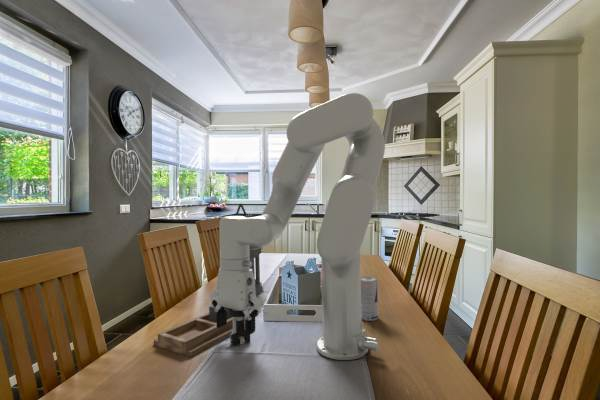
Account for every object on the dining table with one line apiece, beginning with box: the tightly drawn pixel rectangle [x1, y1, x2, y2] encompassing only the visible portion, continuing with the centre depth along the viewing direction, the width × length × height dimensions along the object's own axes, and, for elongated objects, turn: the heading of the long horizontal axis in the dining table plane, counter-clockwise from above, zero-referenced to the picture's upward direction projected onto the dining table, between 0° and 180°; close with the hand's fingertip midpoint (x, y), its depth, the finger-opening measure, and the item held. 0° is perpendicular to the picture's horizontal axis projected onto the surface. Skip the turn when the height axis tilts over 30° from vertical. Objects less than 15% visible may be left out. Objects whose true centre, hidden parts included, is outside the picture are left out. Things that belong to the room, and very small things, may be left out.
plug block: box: [208, 305, 232, 323], centre depth 98 cm, size 4×6×7 cm, turn 149°
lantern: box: [235, 203, 264, 296], centre depth 133 cm, size 17×17×35 cm
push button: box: [224, 309, 251, 347], centre depth 86 cm, size 7×5×10 cm
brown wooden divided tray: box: [153, 311, 247, 358], centre depth 94 cm, size 14×24×3 cm, turn 149°
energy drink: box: [361, 276, 379, 322], centre depth 101 cm, size 5×5×12 cm
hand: (235, 329), depth 87 cm, fingers open, 9 cm apart
